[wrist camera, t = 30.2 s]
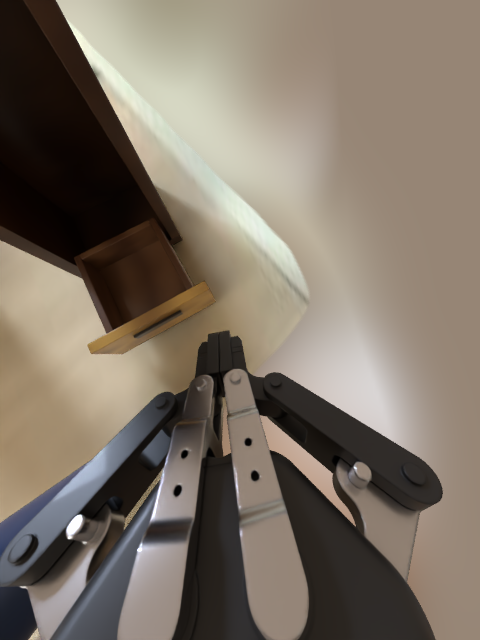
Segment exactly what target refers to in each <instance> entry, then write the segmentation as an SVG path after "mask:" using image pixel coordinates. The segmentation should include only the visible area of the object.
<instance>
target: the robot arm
mask: <svg viewBox="0 0 480 640" xmlns="http://www.w3.org/2000/svg"><path fill="white" fill-rule="evenodd" d="M197 359H198V360H197V366H196V374H195V379H193V380H192V382H191V383H190V385H189V388H188V389H186V390H185V391H183V392H181V393H178V394H176V395H174V394H173V393H171V392H163V393H161V394H159V395H157V396H156V397H155V398H154V399H153V400H152V401H151V402H150V403H149V404H148V405H147V406H145V407H144V408H143V409H142V410H141V411H140V412H139V413H138V414H137V415H136V416H135V417H134V418H133V419H132V420H131V421H130V422H129V423H128V424H127V425H126V426H125V427H124V428H123V429H122V430H121V431H120V432H119V433H118V434H117V435H116V436H115V437H114V438H113V439H112V440H111V441H110V442H109V443H108V444H107V445H106V446H105V447H104V448H103V449H102V450H101V451H100V452H99V453H98V454H97V455H96V456H95V457H94V458H93V459H92V460H91V461H90V462H89V463H88V464H87V465H86V466H85V467H84V468H83V469H82V470H81V471H80V472H79V473H78V474H77V475H76V476H75V477H74V478H73V479H72V480H71V481H70V482H69V483H68V484H67V485H66V486H65V487H64V488H63V489H62V490H61V491H60V492H59V493H58V494H57V495H56V496H55V497H54V498H53V499H52V500H51V501H50V502H49V503H48V504H47V505H46V506H45V507H44V508H43V509H42V510H41V511H40V512H39V513H38V514H37V515H36V516H35V517H34V518H33V519H32V520H31V521H30V522H29V523H27V524H26V525H25V526H24V527H23V528H22V529H21V530H20V531H19V532H18V534H17V535H16V536H15V537H14V538H13V539H12V540H11V542H10V543H9V544H8V546H7V547H6V549H5V550H4V552H3V553H2V555H1V557H0V587H17V586H19V587H20V588H26V589H27V590H28V593H29V597H30V600H31V604H32V608H33V612H34V615H35V619H36V623H37V627H38V630H39V634H40V638H41V640H435V637H434V634H433V631H432V629H431V627H430V624H429V622H428V620H427V618H426V615H425V613H424V611H423V609H422V607H421V605H420V604H419V602H418V600H417V598H416V597H415V595H414V593H413V592H412V590H411V588H410V587H409V585H408V584H407V579H408V574H409V569H410V563H411V558H412V552H413V547H414V542H415V536H416V531H417V525H418V519H419V515H420V512H421V511H422V510H424V509H426V508H428V507H430V506H432V505H434V504H436V503H437V502H439V501H440V500H441V498H442V494H443V491H442V486H441V483H440V481H439V479H438V477H437V475H436V474H435V473H434V471H433V470H432V469H431V468H430V467H429V466H428V465H427V464H426V463H425V462H424V461H423V460H422V459H420V458H419V457H417V456H415V455H414V454H412V453H410V452H409V451H407V450H406V449H404V448H402V447H401V446H399V445H397V444H396V443H394V442H392V441H391V440H389V439H388V438H386V437H384V436H383V435H381V434H380V433H378V432H376V431H375V430H373V429H371V428H370V427H368V426H366V425H365V424H363V423H361V422H360V421H358V420H357V419H355V418H353V417H352V416H350V415H348V414H347V413H345V412H344V411H342V410H340V409H339V408H337V407H335V406H334V405H332V404H330V403H329V402H327V401H326V400H324V399H322V398H321V397H319V396H317V395H316V394H314V393H312V392H311V391H309V390H308V389H306V388H304V387H303V386H301V385H299V384H298V383H296V382H294V381H293V380H291V379H290V378H288V377H286V376H285V375H283V374H281V373H275V372H274V373H270V374H268V375H266V376H265V378H262V377H256V376H253V375H251V374H250V373H249V372H248V371H247V368H246V363H245V357H244V352H243V346H242V341H241V339H240V338H239V337H238V336H235V337H231V335H230V331H229V330H228V331H223V332H217V333H212V334H208V342H202V344H201V345H200V347H199V349H198V357H197ZM222 397H226V404H227V412H228V415H227V423H228V430H229V439H230V446H231V453H230V454H228V455H226V456H224V457H223V449H222V427H223V406H222V405H223V403H222ZM260 415H262V416H267V417H268V418H269V419H270V420H271V421H272V422H273V423H274V424H275V425H277V426H278V427H279V428H280V429H282V431H284V432H285V433H286V434H287V435H289V437H291V438H292V439H293V440H294V441H295V442H297V443H298V444H299V445H300V446H301V447H302V448H304V449H305V450H306V451H307V452H308V453H309V454H311V455H312V456H313V457H314V458H315V459H317V460H318V461H319V462H320V463H321V464H322V465H324V466H325V467H326V468H327V469H328V470H330V471H331V472H332V473H333V486H334V489H335V491H336V493H337V495H338V497H339V498H340V500H341V501H342V502H343V503H344V504H345V505H346V506H347V508H348V509H349V511H350V512H351V514H352V516H353V519H354V521H355V524H356V527H355V526H354V525H353V524H352V523H351V522H350V521H349V520H348V519H347V518H346V517H345V516H344V515H343V514H342V513H341V512H340V511H339V510H338V509H337V508H336V507H335V506H334V505H333V504H332V503H331V502H330V501H329V500H328V499H327V498H326V496H325V495H324V494H323V493H322V492H321V491H320V490H319V489H317V488H316V486H315V485H314V484H312V482H311V481H310V480H309V479H308V478H307V477H306V476H305V475H304V474H303V473H302V472H301V471H299V469H298V468H297V467H296V466H295V465H294V464H293V463H292V462H291V461H290V460H288V459H287V458H286V457H284V456H283V455H281V454H279V453H277V452H275V451H271V450H269V447H268V444H267V440H266V436H265V433H264V430H263V426H262V422H261V419H260ZM163 467H164V469H163V472H162V476H161V480H160V481H159V482H158V483H157V484H156V486H155V487H154V488H153V490H152V491H151V492H150V494H149V495H148V497H147V498H146V500H145V501H144V503H143V504H142V506H141V507H140V508H139V510H138V511H137V513H136V514H135V516H134V517H133V519H132V520H131V521H130V523H129V524H128V526H127V527H126V529H125V530H124V524H125V518H126V517H127V516H128V514H129V513H130V512H131V510H132V509H133V508H134V506H135V505H136V503H137V502H138V501H139V499H140V498H141V497H142V495H143V494H144V493H145V491H146V490H147V489H148V487H149V486H150V485H151V483H152V482H153V481H154V479H155V478H156V476H157V475H158V474H159V472H160V471H161V470H162V468H163Z"/></svg>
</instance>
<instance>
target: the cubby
mask: <svg viewBox="0 0 480 640" xmlns="http://www.w3.org/2000/svg"><path fill="white" fill-rule="evenodd" d="M152 218H155V220H156V221H157V223H158V224H159V226H160V227H161V229H162V230H163V232H164V234H165V235H166V237H167V238H168V240H169V242H170V244H171V246H172V245H173V244H175V243H177V242H179V241H181V240H182V238H181V236H180V234H179V232H178V230H177V228H176V226H175V224H174V223H173V221H172V219H171V217H170V215H169V213H168V211H167V209H166V207H165V206H164V204H163V202H162V200H161V198H160V196H159V194H158V192H157V190H156V189H155V187H154V185H153V183H152V181H151V179H150V177H149V175H148V173H147V172H146V170H145V168H144V166H143V164H142V162H141V160H140V158H139V156H138V155H137V153H136V151H135V149H134V147H133V145H132V143H131V141H130V140H129V138H128V136H127V134H126V132H125V130H124V128H123V126H122V124H121V123H120V121H119V119H118V117H117V115H116V113H115V111H114V109H113V107H112V106H111V104H110V102H109V100H108V98H107V96H106V94H105V92H104V90H103V89H102V87H101V85H100V83H99V81H98V79H97V77H96V75H95V73H94V72H93V70H92V68H91V66H90V64H89V62H88V60H87V58H86V56H85V55H84V53H83V51H82V49H81V47H80V45H79V43H78V41H77V39H76V38H75V36H74V34H73V32H72V30H71V28H70V26H69V24H68V22H67V21H66V19H65V17H64V15H63V13H62V11H61V9H60V7H59V5H58V4H57V2H56V0H0V240H1V241H4V242H6V243H8V244H10V245H12V246H14V247H16V248H18V249H21V250H23V251H25V252H27V253H29V254H31V255H33V256H35V257H38V258H40V259H42V260H44V261H46V262H48V263H50V264H52V265H54V266H57V267H59V268H61V269H63V270H65V271H67V272H69V273H71V274H74V275H76V276H78V277H80V278H82V276H81V274H80V271H79V269H78V267H77V265H76V262H75V260H74V257H76V256H78V255H80V254H81V253H83V252H85V251H87V250H89V249H91V248H93V247H95V246H97V245H99V244H101V243H103V242H105V241H107V240H109V239H111V238H113V237H115V236H117V235H119V234H121V233H123V232H125V231H127V230H129V229H131V228H133V227H135V226H137V225H139V224H141V223H143V222H145V221H147V220H148V221H149V220H150V219H152ZM82 279H83V278H82Z"/></svg>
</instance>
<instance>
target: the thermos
mask: <svg viewBox="0 0 480 640" xmlns="http://www.w3.org/2000/svg"><path fill="white" fill-rule="evenodd" d="M90 461H91V460H90ZM90 461H89V462H90ZM89 462H87V463H86V464H84V465H83V466H82V467H80V468H79V469H77V470H76V471H74V472H73V473H72V474H70V475H69V476H67V477H66V478H64V479H63V480H61V481H60V482H59V483H57V484H56V485H54V486H53V487H51V488H50V489H48V490H47V491H46V492H44V493H43V494H41V495H40V496H38V497H37V498H35V499H34V500H33V501H31V502H30V503H28V504H27V505H25V506H24V507H22V508H21V509H20V510H18V511H17V512H15V513H14V514H12V515H11V516H9V517H8V518H7V519H5V520H4V521H2V522H1V523H0V557H1V555H2V553H3V552H4V550H5V549H6V547H7V546H8V544H9V543H10V542H11V540H12V539H13V538H14V537H15V536H16V535H17V534H18V532H19V531H20V530H21V529H22V528H23V527H24V526H25V525H26V524H27V523H29V522H30V521H31V520H32V519H33V518H34V517H35V516H36V515H37V514H38V513H39V512H40V511H41V510H42V509H43V508H44V507H45V506H46V505H47V504H48V503H49V502H50V501H51V500H52V499H53V498H54V497H55V496H56V495H57V494H58V493H59V492H60V491H61V490H62V489H63V488H64V487H65V486H66V485H67V484H68V483H69V482H70V481H71V480H72V479H73V478H74V477H75V476H76V475H77V474H78V473H79V472H80V471H81V470H82V469H83V468H84V467H85V466H86V465H87V464H88V463H89ZM36 629H37V623H36V619H35V615H34V612H33V608H32V604H31V600H30V597H29V593H28V590H27V589H26V588H20V587H19V586H17V587H0V640H28V639H29V638H30V637H31V635H32V634H33V633H34V631H35V630H36Z"/></svg>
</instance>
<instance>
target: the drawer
mask: <svg viewBox="0 0 480 640" xmlns="http://www.w3.org/2000/svg"><path fill="white" fill-rule="evenodd" d="M74 260H75V262H76V265H77V267H78V269H79V271H80V274H81V276H82V278H83V280H84V283H85V285H86V287H87V290H88V292H89V294H90V296H91V299H92V301H93V303H94V306H95V308H96V310H97V312H98V315H99V317H100V319H101V322H102V324H103V326H104V328H105V331H106V333H107V334H106V335H104V336H102V337H100V338H98V339H97V340H95V341H93V342H91V343H89V344H88V348H89V350H90V353H91V354H124V353H125V352H127V351H129V350H131V349H133V348H134V347H136V346H138V345H140V344H141V343H143V342H145V341H147V340H149V339H150V338H152V337H154V336H156V335H158V334H159V333H161V332H163V331H165V330H167V329H168V328H170V327H172V326H174V325H176V324H177V323H179V322H181V321H183V320H184V319H186V318H188V317H190V316H192V315H193V314H195V313H197V312H199V311H201V310H202V309H204V308H206V307H208V306H210V305H211V304H213V303H215V302H216V301H215V299H214V297H213V295H212V293H211V291H210V289H209V287H208V286H207V284H206V282H205V281H203V282H201V283H199V284H197V285H196V286H194V285H193V283H192V281H191V279H190V277H189V276H188V274H187V272H186V270H185V269H184V267H183V265H182V263H181V262H180V260H179V258H178V256H177V254H176V253H175V251H174V249H173V247H172V246H171V244H170V242H169V240H168V238H167V237H166V235H165V234H164V232H163V230H162V229H161V227H160V226H159V224H158V223H157V221H156V220H155V218H152V219H150V220H149V221H148V220H147V221H145V222H143V223H141V224H139V225H137V226H135V227H133V228H131V229H129V230H127V231H125V232H123V233H121V234H119V235H117V236H115V237H113V238H111V239H109V240H107V241H105V242H103V243H101V244H99V245H97V246H95V247H93V248H91V249H89V250H87V251H85V252H83V253H81V254H80V255H78V256H76V257H74Z"/></svg>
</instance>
